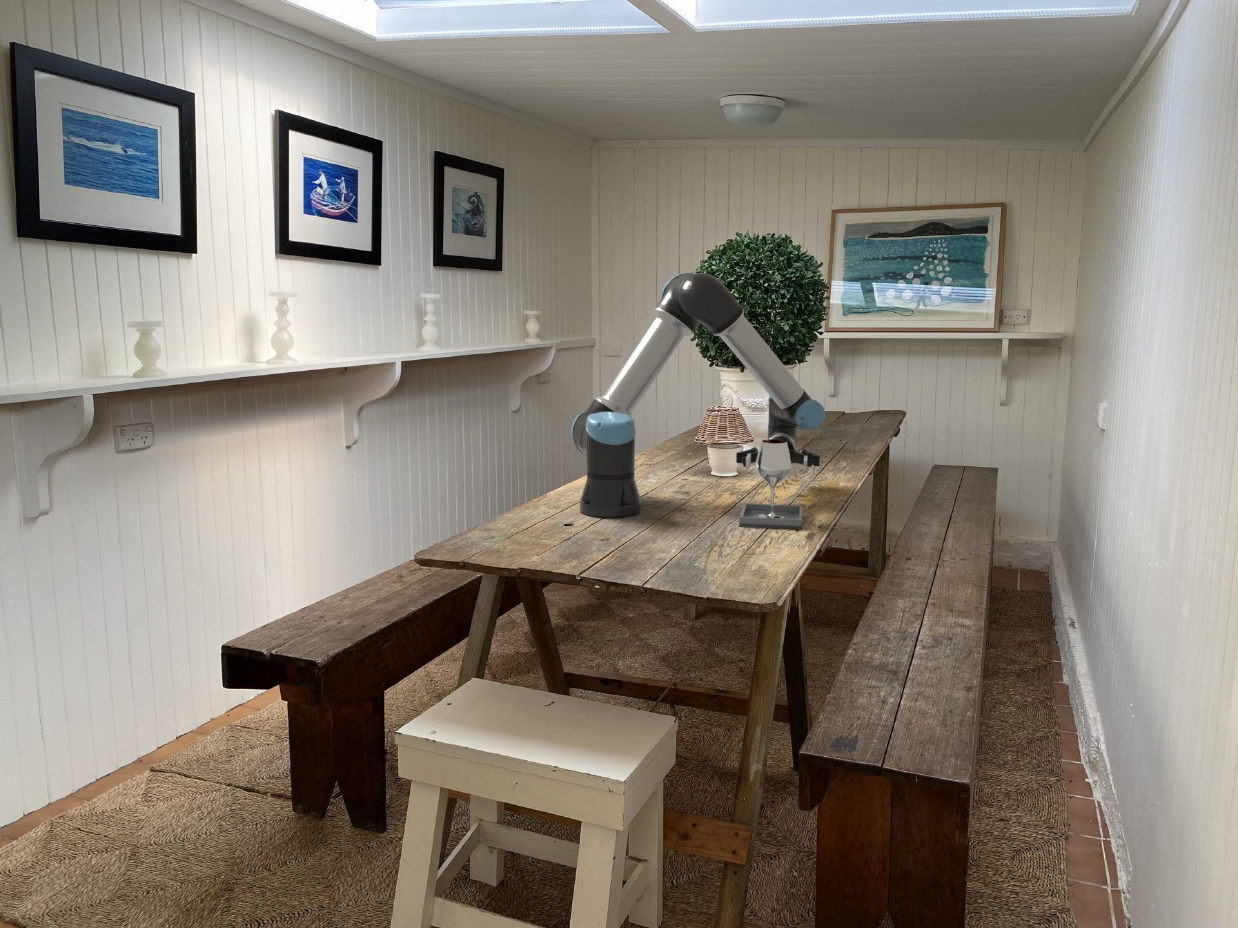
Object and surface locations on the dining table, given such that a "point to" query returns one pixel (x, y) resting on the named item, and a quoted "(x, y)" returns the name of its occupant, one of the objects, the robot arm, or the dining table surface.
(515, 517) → the dining table surface
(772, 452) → the wineglass
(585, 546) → the dining table surface
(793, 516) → the tray
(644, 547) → the dining table surface
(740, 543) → the dining table surface
